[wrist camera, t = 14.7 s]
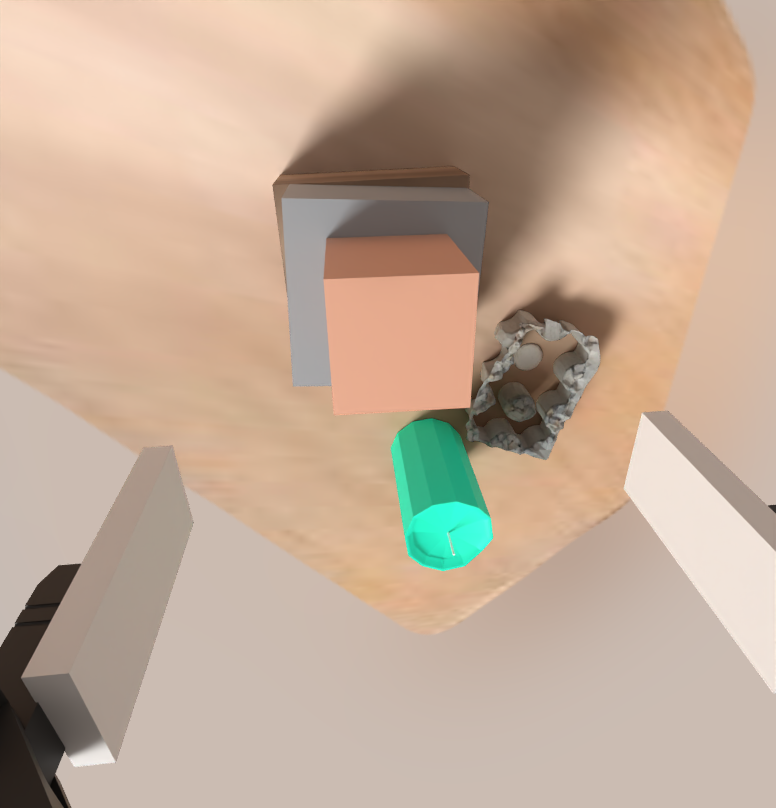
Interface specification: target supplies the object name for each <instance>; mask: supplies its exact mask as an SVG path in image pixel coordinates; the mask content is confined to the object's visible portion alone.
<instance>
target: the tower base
mask: <svg viewBox="0 0 776 808" xmlns="http://www.w3.org/2000/svg"><path fill="white" fill-rule="evenodd" d="M289 184H310V185H357V186H404V187H451V188H468V189H469V174H467V173H465V172H463V171H462V170H460V169H458V168H456V167H454V166H448V167H428V168H409V169H389V170H369V171H350V172H330V173H310V174H291V175H280V176H279V177H278V179H277V180H276V181H275V182H274V184H273V192H274V200H275V207H276V215H277V222H278V230H279V237H280V245H281V252H282V260H283V267H284V275H285V282H286V290H287V280H286V263H285V247H284V231H283V215H282V199H281V198H282V196H283V195H284V193H285V191H286V189H287V188H288V186H289ZM287 297H288V296H287Z"/></svg>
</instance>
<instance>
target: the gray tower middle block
mask: <svg viewBox="0 0 776 808" xmlns="http://www.w3.org/2000/svg"><path fill="white" fill-rule="evenodd" d="M281 199H282V215H283V231H284V247H285V263H286V280H287V296H288V312H289V328H290V344H291V361H292V377H293V386H332V385H331V372H330V359H329V346H328V332H327V319H326V306H325V293H324V280H323V278H324V264H325V250H326V238H345V237H373V236H401V235H429V234H448V236H449V237H450V238H451V239H452V241H453V242H454V243H455V244H456V245H457V247H458V248H459V249H460V250H461V251H462V253H463V254H464V255H465V256H466V258H467V259H468V260H469V261H470V262H471V264H472V265H473V266H474V267H475V269H476V270H477V271H478V272H479V284H480V275H481V266H482V257H483V249H484V240H485V231H486V222H487V214H488V205H489V202H488V201H486V200H485V199H483V198H482V197H480V196H479V195H477V194H476V193H474V192H473V191H471V190H470V189H468V188H451V187H404V186H357V185H310V184H289V186H288V188H287V189H286V191H285V193H284V195H283V196H282V198H281ZM479 284H478V292H479ZM477 301H478V299H477Z"/></svg>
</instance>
